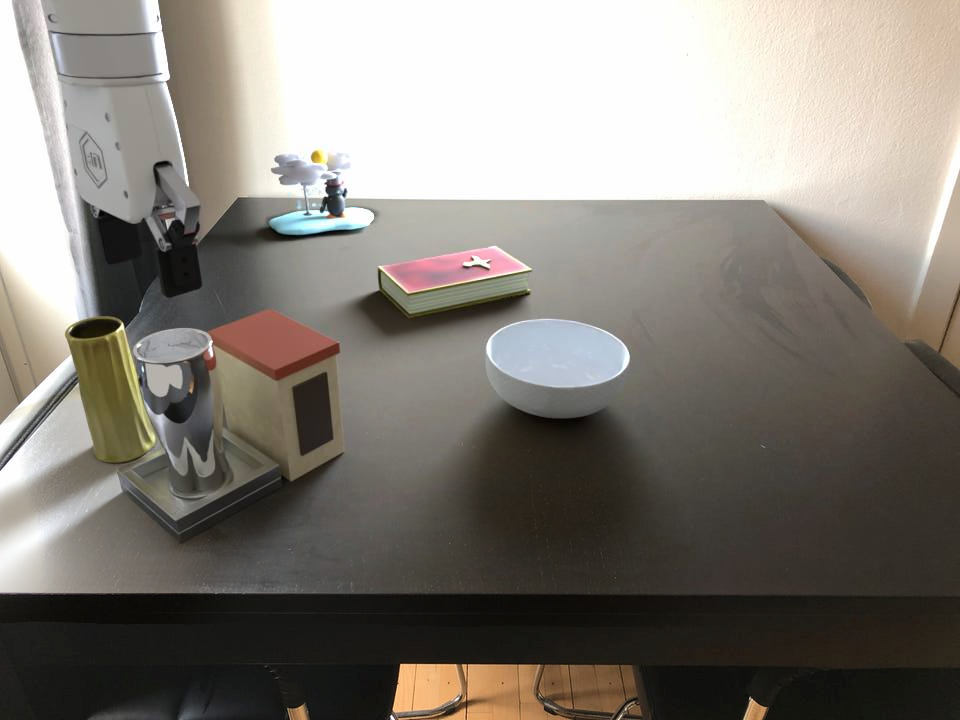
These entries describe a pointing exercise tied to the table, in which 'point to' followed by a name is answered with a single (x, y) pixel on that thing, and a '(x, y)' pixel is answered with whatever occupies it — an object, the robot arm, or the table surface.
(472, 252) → the hardcover book
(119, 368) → the vase
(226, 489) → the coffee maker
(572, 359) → the cereal bowl
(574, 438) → the table surface
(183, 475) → the beer glass
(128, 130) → the robot arm
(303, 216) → the penguin figurine
